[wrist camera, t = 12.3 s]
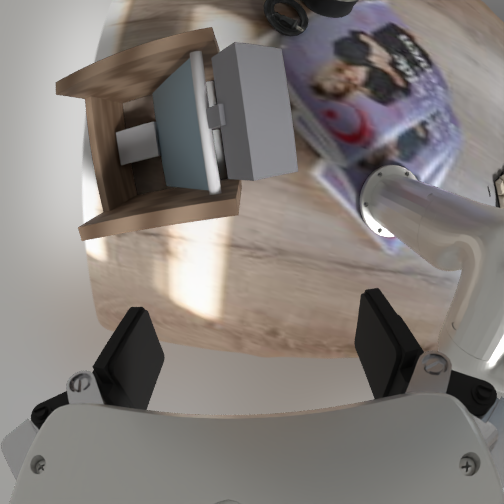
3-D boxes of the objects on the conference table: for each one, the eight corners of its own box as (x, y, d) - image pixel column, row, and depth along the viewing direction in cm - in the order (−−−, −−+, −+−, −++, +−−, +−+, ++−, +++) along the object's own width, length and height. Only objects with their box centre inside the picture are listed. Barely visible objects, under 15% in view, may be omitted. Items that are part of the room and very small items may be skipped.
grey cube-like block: (153, 121, 32) (115, 132, 32) (158, 155, 34) (121, 165, 34) (164, 123, 36) (129, 132, 37) (168, 154, 38) (134, 162, 39)
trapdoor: (279, 36, 18) (220, 27, 15) (299, 186, 24) (244, 200, 21) (190, 87, 34) (151, 91, 31) (203, 179, 40) (166, 188, 37)
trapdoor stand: (225, 69, 33) (212, 27, 18) (241, 187, 41) (238, 215, 25) (116, 96, 34) (55, 82, 19) (134, 205, 41) (81, 240, 26)
